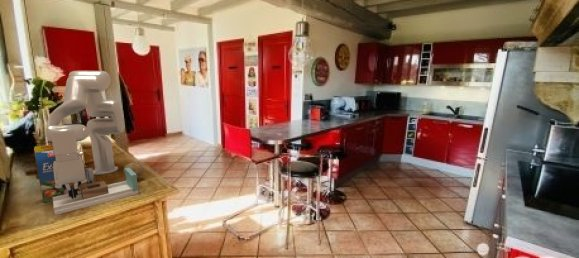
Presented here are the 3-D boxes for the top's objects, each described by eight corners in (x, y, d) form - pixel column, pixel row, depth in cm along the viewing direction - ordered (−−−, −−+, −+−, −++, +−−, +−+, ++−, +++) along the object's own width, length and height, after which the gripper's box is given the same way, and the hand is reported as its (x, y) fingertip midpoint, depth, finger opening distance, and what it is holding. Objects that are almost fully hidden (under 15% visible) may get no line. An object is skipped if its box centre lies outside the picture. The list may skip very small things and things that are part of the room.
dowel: (87, 192, 126) (84, 168, 124) (95, 190, 128) (92, 167, 126) (88, 194, 124) (85, 170, 122) (96, 192, 126) (93, 168, 124)
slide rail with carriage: (53, 203, 115) (49, 183, 113) (131, 185, 135) (129, 167, 133) (54, 215, 105) (50, 192, 103) (138, 193, 125) (136, 174, 123)
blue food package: (44, 198, 120) (35, 145, 116) (78, 191, 127) (70, 141, 123) (43, 203, 115) (33, 148, 111) (78, 195, 123) (70, 143, 118)
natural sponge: (138, 176, 148) (136, 159, 146) (147, 179, 143) (145, 161, 141) (121, 181, 140) (119, 163, 138) (130, 184, 135) (128, 166, 134)
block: (81, 194, 120) (80, 185, 119) (105, 189, 126) (103, 180, 125) (84, 202, 113) (82, 192, 112) (109, 196, 119) (107, 186, 118)
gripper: (88, 151, 118) (93, 190, 122) (43, 158, 108) (50, 199, 112) (90, 155, 113) (96, 195, 116) (43, 162, 103) (50, 206, 106)
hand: (73, 197), depth 114 cm, fingers closed
